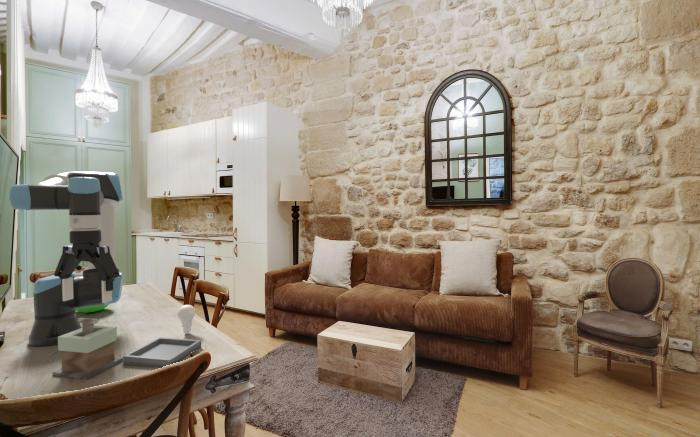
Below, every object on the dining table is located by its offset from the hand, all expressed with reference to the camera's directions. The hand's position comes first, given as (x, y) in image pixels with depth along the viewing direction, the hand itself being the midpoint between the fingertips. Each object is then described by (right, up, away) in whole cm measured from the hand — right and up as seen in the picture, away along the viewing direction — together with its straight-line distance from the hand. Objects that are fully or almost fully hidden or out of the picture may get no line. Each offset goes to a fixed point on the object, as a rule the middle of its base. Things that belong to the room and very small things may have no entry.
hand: (87, 301), depth 106 cm
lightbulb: (+16, -20, +29) cm, 39 cm away
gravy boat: (-41, -18, +57) cm, 72 cm away
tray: (+18, -20, +10) cm, 28 cm away
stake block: (0, -20, +1) cm, 20 cm away
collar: (0, -13, +1) cm, 13 cm away
